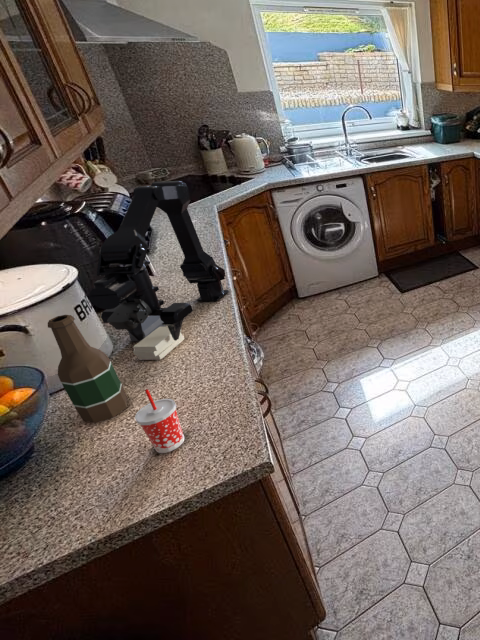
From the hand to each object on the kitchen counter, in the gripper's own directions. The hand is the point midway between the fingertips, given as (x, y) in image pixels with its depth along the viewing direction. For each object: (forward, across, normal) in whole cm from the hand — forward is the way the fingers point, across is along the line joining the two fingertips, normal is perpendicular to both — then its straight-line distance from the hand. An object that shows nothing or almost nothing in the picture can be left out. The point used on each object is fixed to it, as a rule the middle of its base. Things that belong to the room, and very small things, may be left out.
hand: (158, 339), depth 109 cm
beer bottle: (+3, +4, -22) cm, 23 cm away
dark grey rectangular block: (+3, -9, +9) cm, 13 cm away
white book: (0, 0, 0) cm, 0 cm away
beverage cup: (+3, +24, -31) cm, 39 cm away
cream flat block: (+3, 0, 0) cm, 3 cm away
